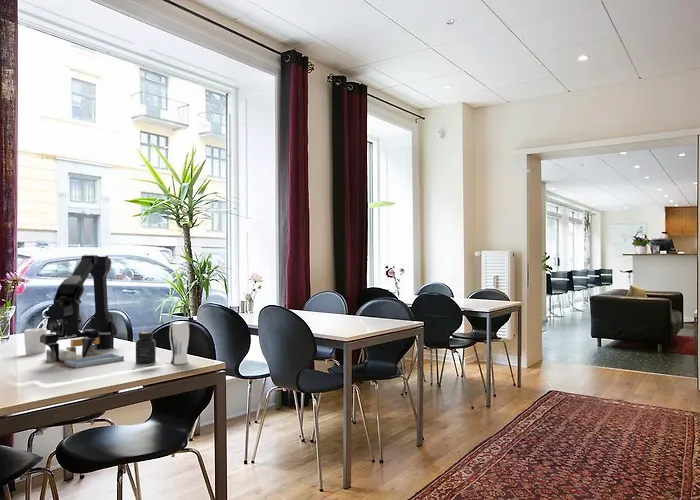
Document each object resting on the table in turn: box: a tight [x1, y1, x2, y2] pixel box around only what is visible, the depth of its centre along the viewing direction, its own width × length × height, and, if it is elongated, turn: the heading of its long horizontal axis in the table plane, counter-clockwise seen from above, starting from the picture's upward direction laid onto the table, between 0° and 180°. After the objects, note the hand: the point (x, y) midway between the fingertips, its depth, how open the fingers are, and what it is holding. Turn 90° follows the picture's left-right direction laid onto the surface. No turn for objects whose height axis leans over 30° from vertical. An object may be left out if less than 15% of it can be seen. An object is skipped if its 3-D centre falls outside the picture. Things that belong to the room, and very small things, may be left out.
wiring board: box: [40, 344, 126, 371], centre depth 196 cm, size 20×24×5 cm
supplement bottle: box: [135, 331, 157, 368], centre depth 192 cm, size 7×7×12 cm
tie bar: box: [70, 337, 99, 348], centre depth 203 cm, size 10×3×2 cm, turn 140°
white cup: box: [23, 327, 48, 356], centre depth 211 cm, size 8×8×10 cm
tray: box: [64, 353, 125, 369], centre depth 192 cm, size 17×9×2 cm, turn 140°
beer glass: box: [169, 320, 190, 366], centre depth 196 cm, size 7×7×15 cm
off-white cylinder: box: [59, 347, 78, 361], centre depth 195 cm, size 12×4×4 cm, turn 50°
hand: (70, 359), depth 192 cm, fingers open, 9 cm apart
